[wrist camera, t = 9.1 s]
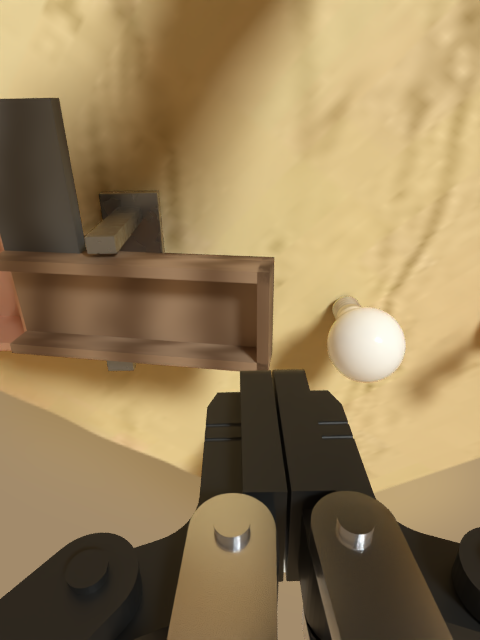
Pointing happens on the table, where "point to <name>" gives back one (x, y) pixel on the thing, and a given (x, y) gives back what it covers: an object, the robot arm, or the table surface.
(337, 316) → the lightbulb
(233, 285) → the lever trough
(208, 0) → the table surface
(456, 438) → the table surface
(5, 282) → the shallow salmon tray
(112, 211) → the lever stand
